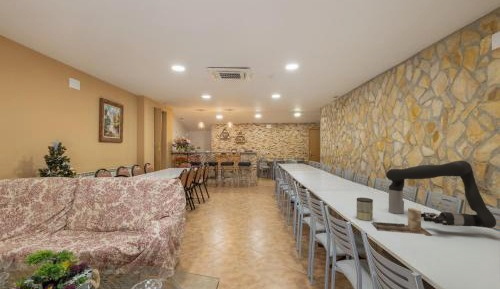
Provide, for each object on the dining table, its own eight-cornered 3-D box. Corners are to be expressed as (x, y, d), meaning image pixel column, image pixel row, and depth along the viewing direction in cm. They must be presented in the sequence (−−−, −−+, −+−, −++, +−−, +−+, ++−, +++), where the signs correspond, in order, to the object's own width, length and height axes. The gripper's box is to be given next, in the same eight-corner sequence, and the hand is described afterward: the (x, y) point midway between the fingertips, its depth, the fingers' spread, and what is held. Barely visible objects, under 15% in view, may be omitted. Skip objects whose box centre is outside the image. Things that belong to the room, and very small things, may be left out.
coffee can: (354, 217, 175) (354, 197, 174) (369, 217, 174) (369, 197, 173) (359, 221, 164) (359, 200, 164) (375, 222, 163) (375, 201, 163)
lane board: (419, 227, 154) (419, 223, 154) (432, 235, 140) (432, 232, 140) (370, 223, 160) (370, 220, 160) (377, 231, 146) (377, 228, 146)
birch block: (416, 228, 150) (417, 208, 150) (420, 231, 145) (421, 210, 145) (407, 227, 151) (408, 208, 151) (411, 230, 146) (411, 210, 146)
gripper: (444, 209, 151) (415, 207, 154) (459, 216, 137) (426, 214, 140) (444, 221, 151) (415, 219, 154) (458, 229, 137) (426, 227, 140)
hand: (420, 217), depth 147 cm, fingers open, 8 cm apart
